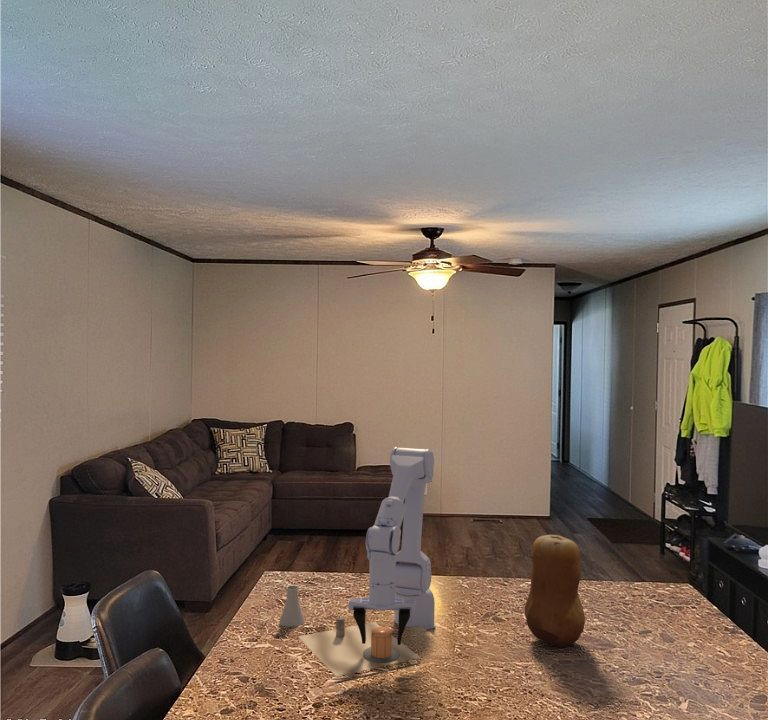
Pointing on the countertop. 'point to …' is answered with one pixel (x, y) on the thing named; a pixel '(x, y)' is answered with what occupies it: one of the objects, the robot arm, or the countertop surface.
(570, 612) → the butternut squash
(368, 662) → the board
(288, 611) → the flask
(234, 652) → the countertop surface
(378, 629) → the orange domed tapered piece
